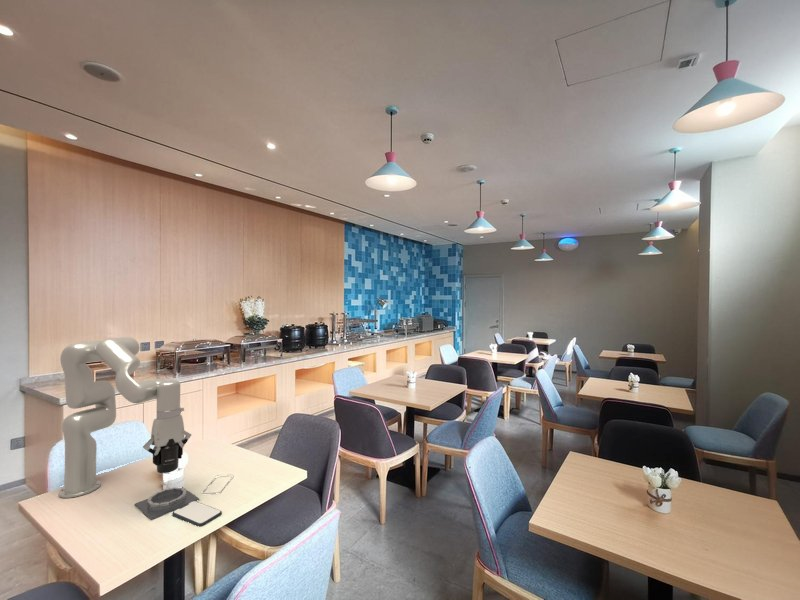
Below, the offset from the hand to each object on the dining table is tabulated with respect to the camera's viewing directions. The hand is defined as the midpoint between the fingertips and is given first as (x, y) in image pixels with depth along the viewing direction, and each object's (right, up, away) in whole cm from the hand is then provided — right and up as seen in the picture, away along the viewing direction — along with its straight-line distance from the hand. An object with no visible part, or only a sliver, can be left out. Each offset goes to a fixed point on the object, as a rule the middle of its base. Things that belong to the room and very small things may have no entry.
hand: (168, 460), depth 133 cm
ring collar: (0, -16, 0) cm, 16 cm away
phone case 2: (+12, -17, +13) cm, 24 cm away
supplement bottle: (0, -4, 0) cm, 4 cm away
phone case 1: (+16, -16, -8) cm, 24 cm away
